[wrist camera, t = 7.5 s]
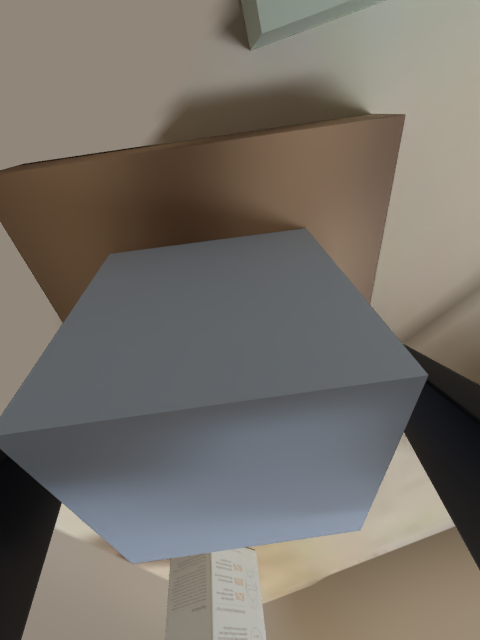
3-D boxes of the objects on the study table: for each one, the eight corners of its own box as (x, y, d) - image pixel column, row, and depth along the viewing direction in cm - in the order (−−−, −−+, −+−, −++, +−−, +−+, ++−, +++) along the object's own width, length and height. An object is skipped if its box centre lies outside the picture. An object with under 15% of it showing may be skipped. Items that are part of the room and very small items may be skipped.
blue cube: (306, 228, 9) (428, 375, 4) (300, 365, 12) (360, 530, 7) (109, 254, 9) (-13, 437, 4) (161, 384, 12) (132, 564, 7)
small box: (169, 550, 30) (155, 725, 21) (210, 534, 28) (212, 716, 20) (219, 563, 34) (223, 714, 25) (257, 549, 32) (275, 706, 24)
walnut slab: (362, 113, 9) (405, 114, 7) (334, 357, 16) (353, 393, 14) (24, 163, 9) (-27, 178, 7) (137, 387, 16) (127, 427, 14)
